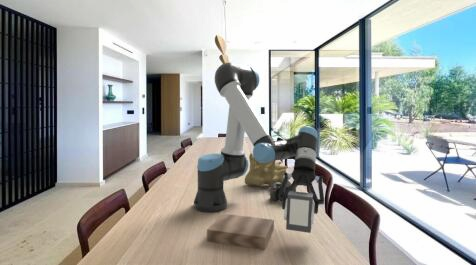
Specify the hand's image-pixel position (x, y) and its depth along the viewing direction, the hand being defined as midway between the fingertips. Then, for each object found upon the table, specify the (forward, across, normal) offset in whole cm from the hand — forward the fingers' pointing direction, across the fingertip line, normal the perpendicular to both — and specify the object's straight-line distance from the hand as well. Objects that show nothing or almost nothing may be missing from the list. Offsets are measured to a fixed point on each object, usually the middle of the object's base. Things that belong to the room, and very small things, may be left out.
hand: (298, 220), depth 100 cm
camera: (-27, -11, +41) cm, 50 cm away
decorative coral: (-42, -24, +57) cm, 75 cm away
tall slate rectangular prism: (+1, 0, +5) cm, 5 cm away
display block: (+5, -20, +8) cm, 22 cm away
